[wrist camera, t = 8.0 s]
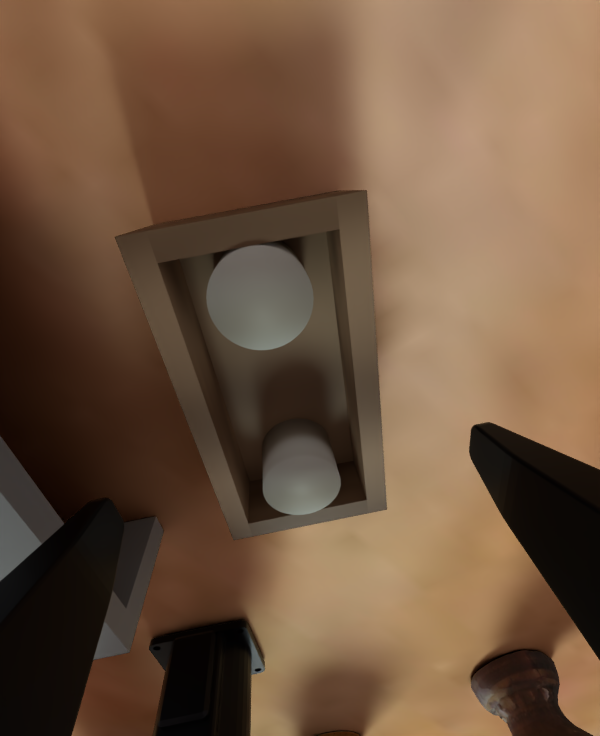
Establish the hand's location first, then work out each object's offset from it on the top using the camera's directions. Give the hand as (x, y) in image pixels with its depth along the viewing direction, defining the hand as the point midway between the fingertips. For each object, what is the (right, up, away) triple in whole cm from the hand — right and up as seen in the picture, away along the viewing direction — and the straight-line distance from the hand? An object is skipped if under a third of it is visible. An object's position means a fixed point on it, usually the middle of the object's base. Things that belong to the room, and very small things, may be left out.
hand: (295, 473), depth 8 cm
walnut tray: (-1, +3, +6) cm, 7 cm away
